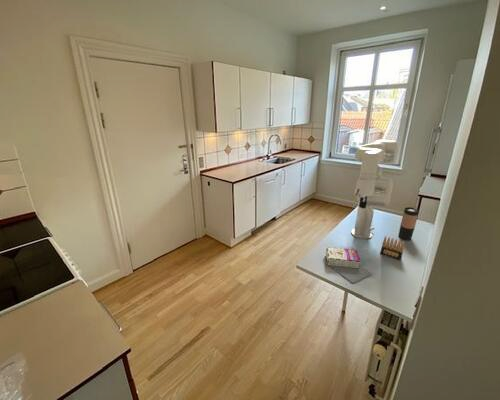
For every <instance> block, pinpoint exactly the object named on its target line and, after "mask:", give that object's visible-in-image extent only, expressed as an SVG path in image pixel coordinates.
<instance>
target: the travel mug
mask: <svg viewBox="0 0 500 400" xmlns="http://www.w3.org/2000/svg"><path fill="white" fill-rule="evenodd" d="M419 213H420V210H419V209H415V208H414V207H404V210H403V214H402V218H401V222H400V226H399V231H398V238H399V240H403V241H411V240H412V237H413V234H414V230H415V227H416V224H417V221H418V216H419Z"/></svg>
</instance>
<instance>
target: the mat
mask: <svg viewBox="0 0 500 400" xmlns="http://www.w3.org/2000/svg"><path fill="white" fill-rule="evenodd" d="M326 265H327V266H329V267H330V268H331V269H333V270H334V271H335V272H337V273H338V274H339V275H341V277H343V278H345V279H346V280H347V281H348V282H349V283H351V285H352V284H355V283H357V282H359V281H362V280H364V279H367V278H368V277H371V276H373V273H372V272H370V271H369V270H367V269H366V268H365V267H363V266H361V265H360V267H359V268H350V267H341V266H332V265H328V264H327V262H326Z"/></svg>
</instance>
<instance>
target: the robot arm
mask: <svg viewBox="0 0 500 400" xmlns="http://www.w3.org/2000/svg"><path fill="white" fill-rule="evenodd" d="M398 152H399V143H398V141H396V140H390V139H377V140H374V141H373V142H372V143H368V144H363V145H360V146H359V147H358V148H357V149H356V152H355V153H354V158H355V160H356V161H357V162H358V163H361V165H360V172H359V177H358V179H357V181H356V184H355V185H356V186H355V190H354V196H356V197H355V200H358V205H357V206H358V207H357V211H356V219H355V225H354V228H353V229H352V230H351V234H352V236H353V237H355V238H358V239H361V240H369V239H372V237H373V233H372V231H374V230H375V229H376V228H375V227H374V226H372V224H373V218H374V213H375V212H374V211H375V210H374V208H373V207H378V208H387V207H388V206H389V203H390V200H391V197H392V191H393V185H394V182H393V179H392V178H390V177H387V176H382V174H383V169H382V168H381V167H380V165H379V164H385V165H394V164H395V163H396V162H397V159H398V154H399V153H398Z"/></svg>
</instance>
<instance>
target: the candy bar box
mask: <svg viewBox="0 0 500 400" xmlns="http://www.w3.org/2000/svg"><path fill="white" fill-rule="evenodd" d="M325 255H326V263H327V264H328V265H327V264H326V265H327V266H329V265H332V266H341V267H350V268H359V267H360V266H361V259H360V256H359V253H358V250H357V249H351V248H342V247H341V248H340V247H330V246H326V250H325Z"/></svg>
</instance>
